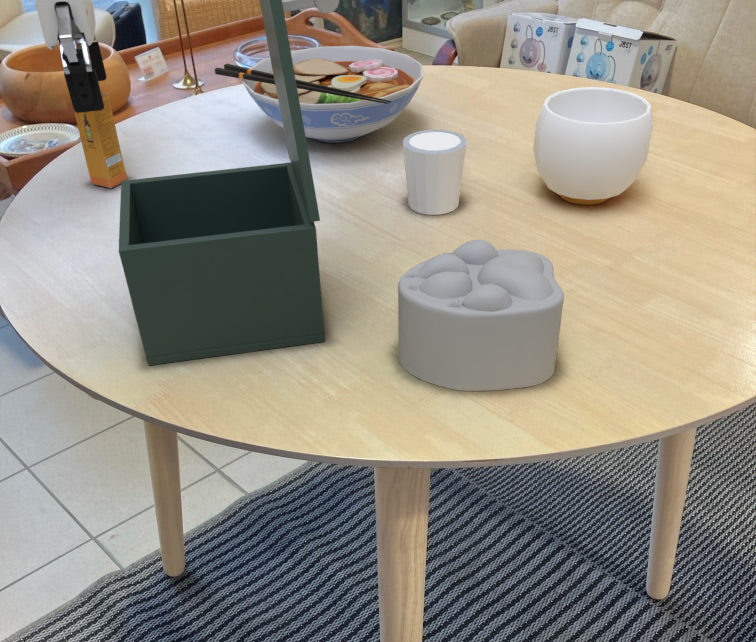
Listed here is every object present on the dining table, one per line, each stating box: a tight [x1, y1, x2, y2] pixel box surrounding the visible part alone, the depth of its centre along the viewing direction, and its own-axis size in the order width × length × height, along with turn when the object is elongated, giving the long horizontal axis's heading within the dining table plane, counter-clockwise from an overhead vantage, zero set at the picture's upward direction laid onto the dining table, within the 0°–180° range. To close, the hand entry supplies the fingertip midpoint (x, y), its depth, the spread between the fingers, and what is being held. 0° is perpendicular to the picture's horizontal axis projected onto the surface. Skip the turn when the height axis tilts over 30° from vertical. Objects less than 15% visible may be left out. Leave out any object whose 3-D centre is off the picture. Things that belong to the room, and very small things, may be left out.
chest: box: [118, 161, 326, 366], centre depth 76 cm, size 16×14×11 cm
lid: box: [258, 0, 340, 223], centre depth 68 cm, size 16×14×5 cm
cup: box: [532, 86, 654, 206], centre depth 93 cm, size 12×12×10 cm
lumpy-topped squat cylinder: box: [397, 239, 565, 392], centre depth 71 cm, size 10×13×9 cm
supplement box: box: [73, 91, 128, 189], centre depth 99 cm, size 3×3×10 cm
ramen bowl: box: [214, 45, 424, 144], centre depth 109 cm, size 25×23×8 cm
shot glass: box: [402, 129, 468, 216], centre depth 93 cm, size 7×7×7 cm
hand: (91, 95), depth 96 cm, fingers open, 9 cm apart
